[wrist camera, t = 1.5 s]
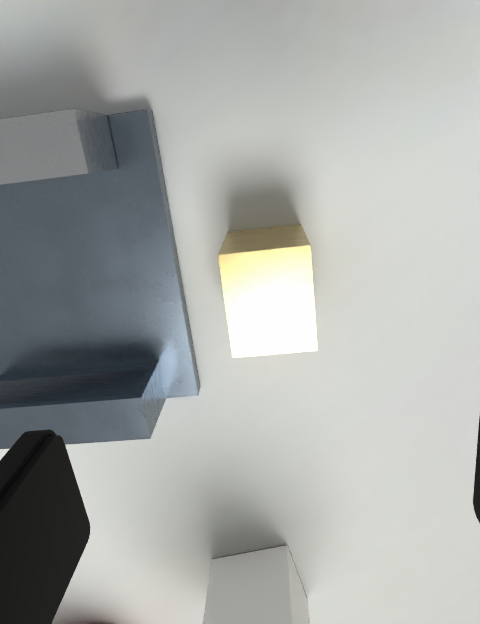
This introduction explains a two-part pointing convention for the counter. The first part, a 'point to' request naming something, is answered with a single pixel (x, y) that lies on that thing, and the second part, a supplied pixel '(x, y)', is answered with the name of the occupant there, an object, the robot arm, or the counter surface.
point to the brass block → (268, 291)
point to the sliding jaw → (54, 145)
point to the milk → (256, 589)
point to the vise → (93, 299)
